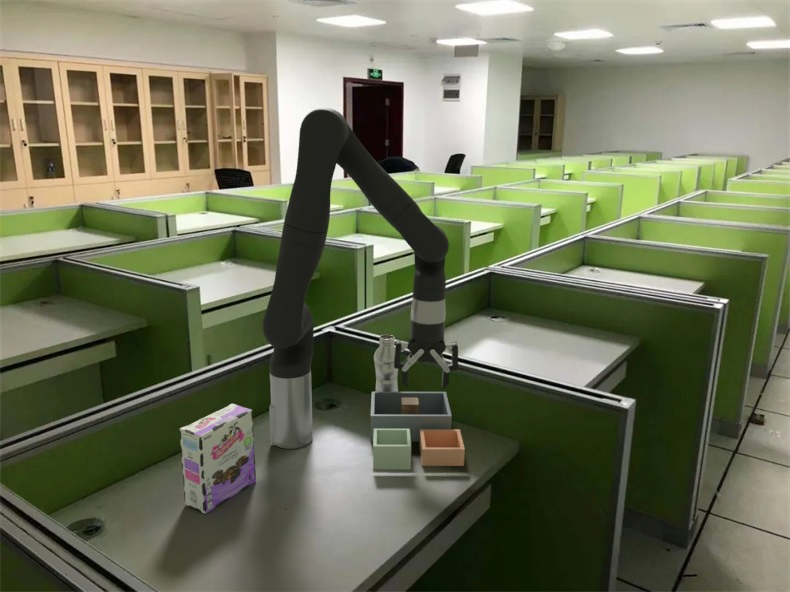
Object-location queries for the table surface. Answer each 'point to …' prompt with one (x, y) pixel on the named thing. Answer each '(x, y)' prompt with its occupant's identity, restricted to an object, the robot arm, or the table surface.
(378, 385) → the plastic bottle
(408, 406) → the walnut block
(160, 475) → the table surface
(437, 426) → the slate bin
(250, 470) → the candy box
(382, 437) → the pale green open box
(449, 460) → the peach square tray
